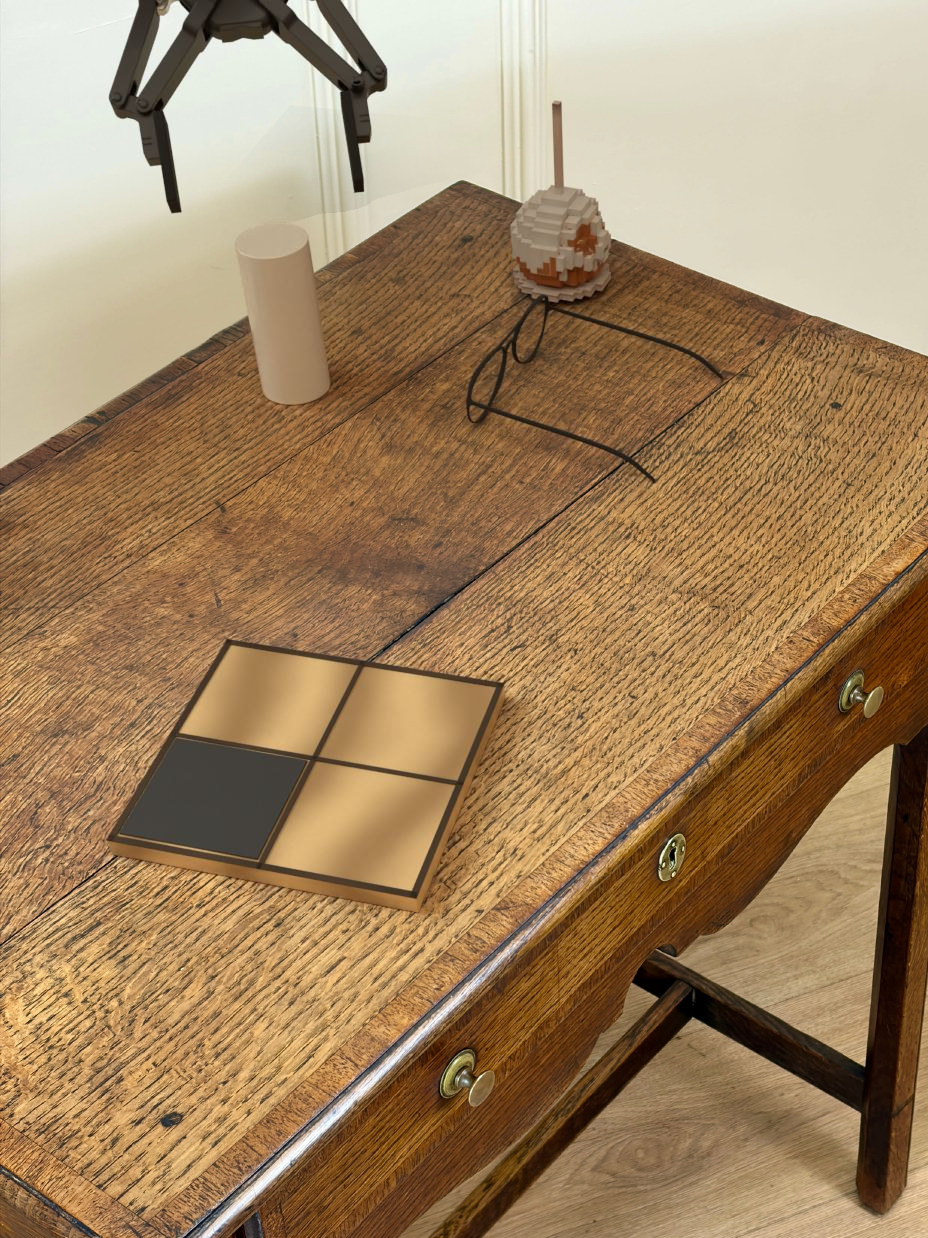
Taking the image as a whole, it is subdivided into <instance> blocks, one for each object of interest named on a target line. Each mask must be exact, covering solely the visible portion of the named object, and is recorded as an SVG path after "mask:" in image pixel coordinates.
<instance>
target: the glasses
mask: <svg viewBox="0 0 928 1238" xmlns="http://www.w3.org/2000/svg"><path fill="white" fill-rule="evenodd" d="M542 299H545V300H544V313H543V322H542V326H541V327H542V328H541V332H540V335H539V338H538V340H537V343H536V345H535V346H534V349H533V351H532V352H531V354H530V355H529V356H528V357H527V359H525V360H522V361H520V359H519V356H518V353H517V342H518V338H519V335H520V332H521V329H522V328H523V325H524V323H525V322H526V320H527V319H528V317H529V316H530V314H531V312H532V311H533V310H534V309H535V307H536V306H537V305H539V303H541V301H543V300H542ZM552 311H554V312H557V313H560V314H563V315H565V316H569V317H572V318H576V319H579V320H582V321H585V322H588V323H592V324H595V325H598V326H601V327H604V328H605V327H606V328H608V329H611V330H615V331H618V332H621V333H624V334H628V335H631V336H634V337H637V338H640V339H643V340H647V341H650V342H653V343H655V344H659V345H662V346H665V347H667V348H671V349H673V350H676V351H678V352H681V353H683V354H685V355H687V356H690V357H691V358H693V359H695V360H696V361H698V362H700V363H701V364H702V365H704V366H705V367H706V368H707V369H708V370H710V372H712V373H713V374H714V375H715V376H717V378H719V379H720V380H723V379H724V376H723V375H722V374H721V373H720V372H719V371H718V370H717V369H716V368H715V367H714V366H713V365H712V364H711V363H710V362H709V361H708V360H707V359H705V358H704V357H703V356H702V355H700V354H697V353H696V352H694V351H692V350H690V349H688V348H685V347H683V346H682V345H679V344H676V343H673V342H670V341H668V340H665V339H662V338H659V337H656V336H653V335H650V334H646V333H643V332H640V331H637V330H633V329H630V328H626V327H624V326H622V325H621V326H620V325H617V324H614V323H611V322H607V321H603V320H600V319H597V318H594V317H590V316H587V315H584V314H580V313H577V312H574V311H570V310H567V309H563V308H560V307H556V306H553V305H551V304H550V301H549V299H548V296H546V295H544V294H543V295H540V296H538V297H537V298H536V299H533V301H532V302H531V304H530V305H529V306H528V307H527V309H526V310H525V311H524V312H523V314H522V316H520V319H519V320H518V321H517V323H516V324H515V325H514V327H512V329H511V330H510V331H509V332H508V334H507V335H506V336H505V337H504V338H503V339H502V340H501V342H499V344H497V346H496V347H495V348H493V349H492V350H491V351H490V352H489V353H488V354H487V355H486V356H485V357H484V359H482V361H481V362H480V363H479V364H478V366H476V368H475V370H474V371H473V373H472V375H471V377H470V380H469V384H468V387H467V393H466V401H465V402H466V403H465V407H466V416H467V420H468V421H469V422H470V423H471V424H479V423H480V422H481V421H483V420H484V419H485V417H486V416H487V415H488V413H489V412H490V413H492V414H496V415H499V416H502V417H504V418H507V419H510V420H514V421H517V422H519V423H523V424H525V425H528V426H532V427H535V428H538V429H541V430H545V431H548V432H550V433H553V434H556V435H560V436H563V437H565V438H568V439H571V440H574V441H578V442H579V443H583V444H586V445H589V446H592V447H594V448H597V449H599V450H602V451H604V452H607V453H609V454H611V455H614V456H616V457H618V458H619V459H622V460H624V461H626V462H627V463H629V464H630V465H631V466H633V467H634V468H635V469H636V470H637V471H639V472H640V473H642V475H644V476H645V477H646V478H647V479H649V480H650V481H651V482H652V483H655V482H657V481H656V478H654V476H652V474H650V473H649V472H648V471H647V470H646V469H645V468H644V467H643V466H641V464H639V463H638V462H637V460H635V459H634V458H632V457H630V456H629V455H627V454H625V453H623V452H622V451H619V450H617V449H615V448H612V447H611V446H608V445H606V444H603V443H600V442H598V441H595V440H593V439H589V438H587V437H584V436H581V435H578V434H575V433H571V432H570V431H567V430H563V429H560V428H557V427H555V426H551V425H548V424H544V423H542V422H538V421H535V420H532V419H529V418H526V417H524V416H520V415H518V414H517V415H516V414H514V413H510V412H507V411H505V410H501V409H498V408H496V407H492V405H493V403H494V401H495V399H496V397H497V395H498V393H499V391H500V389H501V387H502V383H503V380H504V378H505V372H506V368H507V367H506V366H507V362H508V360H507V359H508V353H509V349H510V348H509V347H510V346H511V354H512V358H513V360H514V362H516V363H517V364H520V365H526V364H528V363H530V362H531V361H532V360H533V358H535V356H536V354H537V352H538V350H539V348H540V345H541V343H542V340H543V337H544V334H545V329H546V325H547V324H546V323H547V319H548V314H549V312H552ZM511 336H512V338H511V339H510V337H511ZM507 340H508V341H507ZM505 343H506V344H505ZM504 344H505V347H504V346H503V345H504ZM500 351H502V356H501V357H502V358H501V365H500V368H499V372H498V374H497V375H498V376H497V379H496V382H495V386H494V388H493V391H492V394H491V396H490V398H489V401H488V403H487V404H483V403H481V402H477V401H475V400H474V399H472V395H473V390H474V388H475V384H476V382H477V380H478V378H479V376H480V375H481V373H482V372H483V370H484V369H485V367H486V365H487V364H488V363H489V362H490V360H491V359H492V358H493V357H494V356H495V355H496V354H497V353H498V352H500ZM471 406H473V407H476V408H479V409H482V410H483V412H482V413H481V415H480V416H479V417H478V418H477V419H476V420H472V418H471V415H470V413H471V412H470V410H471V409H470V407H471Z"/></svg>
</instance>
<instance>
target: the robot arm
mask: <svg viewBox="0 0 928 1238" xmlns="http://www.w3.org/2000/svg"><path fill="white" fill-rule="evenodd" d="M137 1H138V6H137V9H136V11H135V15H134V19H133V21H132V24H131V27H130V30H129V33H128V37H127V39H126V42H125V45H124V49H123V51H122V55H121V57H120V60H119V64H118V66H117V70H116V72H115V75H114V78H113V81H112V83H111V88H110V91H109V93H108V101H109V103H110V106H111V108H112V110H113V113H114V115H115V116H116V118H118V119H121V120H125V119H131V120H133V121H136V122H137V123H138V129H139V134H140V135H139V136H140V141H141V146H142V153H143V156H144V158H145V160H146V162H147V164H148V165H149V167H158V166H160V168H161V174H162V181H163V188H164V194H165V201H166V204H167V207H168V209H169V211H170V213H171V214H179V213H182V204H181V200H180V199H181V198H180V193H179V186H178V179H177V174H176V167H175V161H174V160H175V159H174V155H173V147H172V142H171V136H170V135H171V134H170V129H169V124H168V120H167V118H166V114H165V112H164V109H165V108H166V106H167V105H168V103H169V102H170V100H171V98H173V95H174V94H175V92H176V91H177V89H178V88H179V86H180V85H181V83H182V81H183V80H184V78H185V77H186V76H187V74H188V72H189V70H190V69H191V67H192V66H193V64H194V63H195V61H196V60H197V58H198V57H199V55H200V54H201V53H203V52H204V51H205V50H206V48H207V46H208V45H209V44H210V42H211V40H212V39H213V38H214V39H215V40H219V41H221V42H222V43H221V44H226V43H234V42H236V41H239V40H242V39H246V40H253V41H255V40H264V39H265V36H268V35H269V34H270V33H271V32H272V33H273V34H274V35H276V36H277V38H279V39H280V40H281V41H282V42H283V43H285V44H286V45H289V46H291V47H292V48H293V49H294V50H295V51H296V52H297V53H298V54H300V55H301V57H303V58H304V59H305V60H306V61H307V62H308V63H309V64H310V65H312V67H314V68H315V69H316V70H317V71H318V72H320V73H321V74H322V76H324V78H326V79H327V80H328V82H331V84H332V85H333V86H334V87H336V88H337V89H338V90H339V98H340V110H341V115H342V122H343V129H344V136H345V141H346V147H347V155H348V161H349V167H350V174H351V181H352V189H353V193H354V194H358V193H364V192H365V178H364V172H363V171H364V170H363V165H362V159H361V158H362V157H361V153H360V146H359V145H360V144H369V143H371V139H372V133H373V131H372V124H371V123H372V122H371V117H370V109H369V104H368V99H369V98H370V96H372V95H373V94H375V93H377V92H378V93H382V92H384V91H386V89H388V88H387V87H388V67H387V65H386V64H385V62H384V61H383V60H382V58H381V57H380V55H379V54H378V52H377V51H376V49H375V48H374V46H373V45H372V44H371V42H370V40H369V39H368V38H367V36H366V35H365V33H364V32H363V30H362V29H361V27H360V26H359V25H358V23H357V22H356V20H355V19H354V17H353V16H352V15H351V13H350V11H349V10H348V9H347V7H346V6H345V4H344V3H343V1H342V0H309V1H311V2H316V6H317V8H318V9H319V10H318V11H319V12H320V13H321V15H322V17H323V18H324V20H325V21H326V23H327V25H328V26H329V27H330V28H331V29H332V31H333V32H334V34H335V35H336V37H337V39H338V40H339V42H340V43H341V44H342V46H343V47H344V49H345V50H346V51H347V53H348V54H349V56H350V57H351V59H352V60H353V62H354V63H355V65H356V66H357V67H358V69H359V70H360V73H359V72H358V70H356V69H355V68H354V67H353V66H352V65H351V64H350V63H348V62H347V61H346V60H345V59H344V58H343V57H342V56H341V55H340V54H339V53H337V52H336V51H335V50H334V49H333V48H332V47H331V46H330V45H329V44H328V43H326V42H325V41H324V40H323V39H322V38H321V37H320V36H319V35H318V34H317V33H316V32H315V31H314V30H312V29H311V28H310V27H309V26H308V25H307V24H305V23H304V21H302V20H301V19H300V18H299V16H298V15H297V14H296V12H295V11H294V10H293V8H291V7H290V6H289V5H288V3H289V0H137ZM175 2H178V3H179V4H180V5H181V6H182V8H183V9H185V11H186V12H187V13H188V14H187V15H186V17H185V19H184V21H183V22H182V27H181V29H180V31H179V32H178V34H177V35H176V37H175V38H174V40H173V42H172V43H171V45H170V46H169V48H168V49H167V51H166V53H165V54H164V56H163V57H162V59H161V61H160V62H159V63H158V64H157V66H156V68H155V70H153V72H152V75H151V76H150V77H149V79H148V80H147V82H146V84H145V85H144V87H143V88H142V90H141V91H140V92H139V89H140V86H141V84H142V81H143V78H144V75H145V71H146V68H147V66H148V62H149V59H150V55H151V53H152V50H153V47H154V44H155V42H156V38H157V35H158V32H159V28H160V23H161V16H163V17H164V16H165V15H167V14H168V13H169V11H170V8H171V5H172V4H173V3H175ZM138 92H139V94H138ZM137 95H138V96H137Z"/></svg>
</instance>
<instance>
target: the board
mask: <svg viewBox="0 0 928 1238" xmlns="http://www.w3.org/2000/svg"><path fill="white" fill-rule="evenodd" d="M505 686H506V685H505V682H502V681H501V682H500V681H495V680H489V679H482V678H476V677H471V676H463V675H459V674H458V675H457V674H450V673H445V672H438V671H432V670H425V669H419V668H414V667H407V666H401V665H395V664H387V663H382V662H381V663H380V662H376V661H369V660H363V659H358V658H357V659H356V658H351V657H344V656H337V655H331V654H324V653H319V652H313V651H306V650H299V649H294V648H287V647H282V646H275V645H269V644H262V643H256V642H249V641H244V640H243V641H242V640H236V639H230V638H226V640H225V641H224V643H223V644H222V647H220V650H219V651H218V653H217V654H216V656H215V658H214V660H213V661H212V663H211V665H210V666H209V667H208V669H207V671H206V673H205V674H204V676H203V678H202V680H201V681H200V683H199V684H198V686H197V688H196V689H195V691H194V692H193V695H192V696H191V698H190V700H189V701H188V703H187V705H186V706H185V708H184V710H183V711H182V713H181V714H180V716H179V718H178V719H177V722H175V724H174V726H173V728H172V730H171V731H170V732H169V734H168V736H167V737H166V739H165V741H164V743H163V744H162V746H161V748H160V749H159V751H158V753H157V754H156V756H155V758H154V759H153V761H152V763H151V764H150V766H149V767H148V769H147V771H146V773H144V775H143V777H142V779H141V781H140V783H139V784H138V785H137V788H136V789H135V791H134V793H133V794H132V796H131V797H130V799H129V801H128V803H127V804H126V805H125V807H124V809H123V811H122V812H121V814H120V816H119V818H118V819H117V821H116V823H115V824H114V825H113V828H112V829H111V831H110V832H109V834H108V835H107V837H106V839H105V840H106V842H107V845H108V848H109V851H110V853H111V855H113V856H118V857H124V858H127V859H128V858H129V859H134V860H139V861H144V862H149V863H156V864H160V865H164V866H165V865H166V866H170V867H176V868H181V869H187V870H192V871H197V872H203V873H207V874H213V875H218V876H223V877H229V878H235V879H239V880H244V881H250V882H256V883H259V884H266V885H271V886H277V887H281V888H287V889H292V890H298V891H303V892H308V893H313V894H319V895H324V896H327V897H328V896H329V897H334V898H340V899H345V900H350V901H355V902H360V903H364V904H365V903H366V904H369V905H370V904H371V905H375V906H382V907H388V908H390V909H391V908H392V909H397V910H403V911H408V912H414V913H419V912H420V910H421V907H422V905H423V903H424V900H425V898H426V895H427V893H428V890H429V888H430V886H431V883H432V880H433V878H434V875H435V873H436V871H437V868H438V866H439V863H440V860H441V858H442V856H443V854H444V851H445V848H446V846H447V843H448V841H449V838H450V836H451V833H452V831H453V829H454V826H455V823H456V821H457V819H458V816H459V814H460V812H461V809H462V806H463V805H464V801H465V799H466V796H467V794H468V792H469V789H470V786H471V785H472V782H473V779H474V778H475V774H476V772H477V769H478V768H479V765H480V762H481V759H482V757H483V755H484V753H485V750H486V747H487V746H488V742H489V740H490V737H491V735H492V733H493V730H494V727H495V725H496V723H497V721H498V718H499V715H500V713H501V711H502V708H503V705H504V703H505V700H506V689H505V688H506V687H505Z"/></svg>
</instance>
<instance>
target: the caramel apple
mask: <svg viewBox="0 0 928 1238" xmlns="http://www.w3.org/2000/svg"><path fill="white" fill-rule="evenodd" d="M562 107H563V104H562V101H561V100H553V102H552V103H551V111H552V112H551V115H552V116H551V118H552V142H553V143H552V147H553V148H552V149H553V150H552V151H553V177H554V178H553V182H554V184H551V185H550V186H549V187H548V188H547V189H544V190H543V189H538V190H537V191H536V192H535V194H532V195H531V196H530V198H529V199H528V200H526V201H524V203H523V204H522V205H521V207H519V208H518V210H517V212H516V213H515V216H516V217H515V218H514V220H513V221H512V222H511V224H510V227H509V228H510V245H511V247H510V248H511V252H512V253H511V254H512V259H514V260H516V265H514V267H513V268H512V276H513V284H515V285H517V289H521V293H523V294H529V295H531V299H533V300H535V299H536V298H537V297H538V296H540V295H543V294H544V295H546V296H548V299H549V302H551V303H552V302H553V303H559V301H560V300H563V301H567V302H574V300H575V299H579V300H582V299H584V297H587V298H588V297H589V298H591V297H592V296H593V294H594V293H595V292H596V291H597V292H603V290H604V289H605V288H606V286H607V285H608V283H609V282H610V280H611V279H612V271H610V263H606V261H607V259H608V258H609V256H610V252H609V251H610V249H611V247H612V233H610V232H609V230H608V229H606V221H604V220H603V217H602V212H601V211H600V210H599V201H598V200H597V198H596V197H591V196H587V195H586V192H584V190H583V188H575V187H570V186H565V180H564V179H565V178H564V176H565V175H564V143H563V141H564V140H563V113H562V112H563V108H562ZM541 301H545V299H542V300H541Z"/></svg>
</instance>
